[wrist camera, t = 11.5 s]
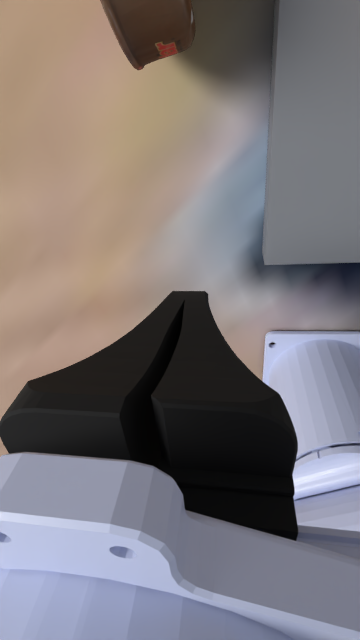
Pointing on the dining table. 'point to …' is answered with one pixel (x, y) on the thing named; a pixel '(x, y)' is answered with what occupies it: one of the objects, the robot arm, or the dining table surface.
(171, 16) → the tin
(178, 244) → the dining table surface
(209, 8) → the dining table surface
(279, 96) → the fader board
